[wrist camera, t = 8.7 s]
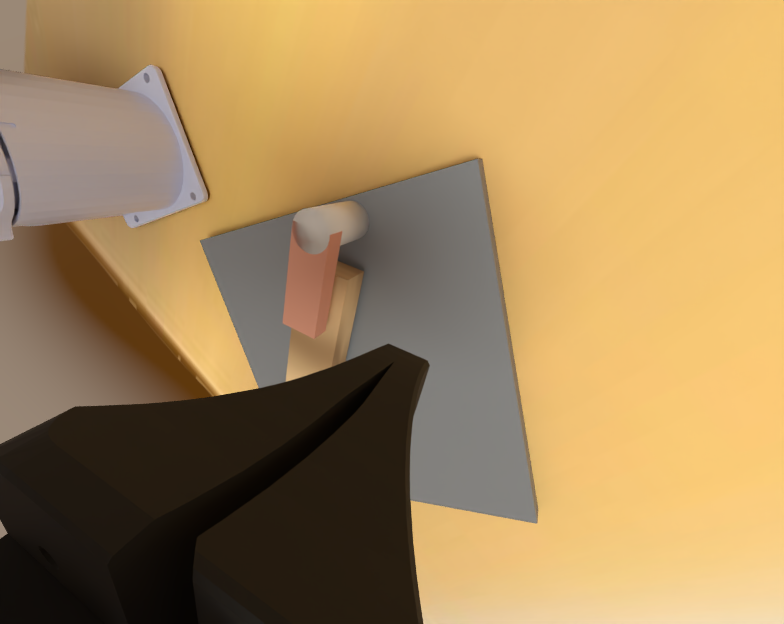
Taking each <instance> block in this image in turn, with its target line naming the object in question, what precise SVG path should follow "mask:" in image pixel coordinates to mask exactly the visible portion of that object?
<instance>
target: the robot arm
mask: <svg viewBox="0 0 784 624" xmlns="http://www.w3.org/2000/svg"><path fill="white" fill-rule="evenodd" d="M207 199H208V193H207V190H206V188H205V185H204V182H203V180H202V177H201V174H200V172H199V169H198V167H197V164H196V161H195V159H194V156H193V153H192V151H191V148H190V145H189V143H188V140H187V138H186V135H185V132H184V130H183V127H182V124H181V122H180V119H179V117H178V114H177V111H176V109H175V106H174V103H173V101H172V98H171V95H170V93H169V90H168V88H167V85H166V82H165V80H164V77H163V74H162V72H161V70H160V69H159V68H158V67H157V66H154V65H148V66H147V67H145V68H144V69H143V70H141V71H140V72H139V73H138V74H136V75H135V76H134V77H132V78H131V79H130V80H128V81H127V82H126V83H124V84H123V85H122V86H120V87H119V88H118V89H117V88H111V87H105V86H99V85H93V84H87V83H81V82H75V81H69V80H63V79H57V78H51V77H45V76H39V75H33V74H27V73H21V72H14V71H9V70H3V69H0V241H5V240H12V239H13V238H14V236H13V232H12V227H14V226H39V225H48V224H56V223H64V222H73V221H81V220H89V219H98V218H106V217H115V216H123V217H124V219H125V221H126V223H127V225H128V226H129V227H131V228H136V227H139V226H142V225H145V224H147V223H150V222H153V221H155V220H158V219H161V218H163V217H166V216H169V215H171V214H174V213H177V212H179V211H182V210H185V209H187V208H190V207H193V206H195V205H198V204H201V203H203V202H206V201H207ZM429 367H430V365H429V363H428V360H425V359H423V358H421V357H419V356H416V355H414V354H412V353H409V352H407V351H405V350H402V349H400V348H398V347H396V346H393V345H391V344H389V343H388V344H386V345H383V346H381V347H378V348H376V349H374V350H371V351H369V352H367V353H364V354H362V355H360V356H357V357H355V358H352V359H350V360H347V361H345V362H342V363H340V364H337V365H335V366H332V367H330V368H327V369H324V370H321V371H318V372H315V373H312V374H309V375H306V376H303V377H300V378H297V379H294V380H290V381H287V382H283V383H279V384H275V385H271V386H267V387H263V388H258V389H253V390H248V391H242V392H237V393H231V394H225V395H219V396H214V397H207V398H199V399H191V400H183V401H174V402H173V401H172V402H162V403H149V404H132V405H109V406H83V407H81V406H79V407H74V408H72V409H69V410H68V411H66V412H64V413H62V414H60V415H58V416H56V417H54V418H52V419H50V420H48V421H46V422H44V423H42V424H40V425H38V426H36V427H34V428H32V429H30V430H28V431H26V432H24V433H22V434H20V435H18V436H16V437H14V438H12V439H10V440H8V441H6V442H4V443H2V444H0V520H1V522H2V524H3V526H4V527H5V529H6V531H7V533H8V534H7V535H5V536H4V537H2V538H1V539H0V624H423V618H422V612H421V605H420V597H419V590H418V582H417V575H416V565H415V556H414V546H413V534H412V518H411V502H410V449H411V435H412V424H413V416H414V414H415V411H416V408H417V405H418V401H419V398H420V395H421V392H422V389H423V386H424V383H425V379H426V376H427V373H428V370H429Z"/></svg>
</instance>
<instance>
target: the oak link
mask: <svg viewBox="0 0 784 624" xmlns="http://www.w3.org/2000/svg"><path fill="white" fill-rule="evenodd" d="M363 274H364V271H361V270H359V269H357V268H354V267H352V266H349V265H347V264H344V263H342V262H340V261H337V266H336V272H335V278H334V284H333V290H332V296H331V302H330V307H329V313H328V319H327V325H326V331H325V332H323V333H322V334H321V335H319V336H318V337H316V338H315V339H313V338H311V337H309V336H307V335H305V334H303V333H301V332H299V331H297V330H295V329H293V328H291V336H290V346H289V355H288V364H287V373H286V382H287V381H290V380H294V379H297V378H300V377H303V376H306V375H309V374H312V373H315V372H318V371H321V370H324V369H327V368H330V367H332V366H335V365H337V364H340V363H342V362H345V361H346V356H347V351H348V346H349V341H350V337H351V332H352V327H353V322H354V317H355V313H356V308H357V303H358V298H359V293H360V289H361V284H362V279H363Z"/></svg>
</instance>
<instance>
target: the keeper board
mask: <svg viewBox="0 0 784 624" xmlns="http://www.w3.org/2000/svg"><path fill="white" fill-rule="evenodd" d="M200 242H201V245H202V247H203V250H204V252H205V255H206V257H207V260H208V262H209V265H210V267H211V270H212V272H213V275H214V277H215V280H216V282H217V285H218V287H219V290H220V292H221V295H222V297H223V300H224V302H225V305H226V307H227V310H228V312H229V315H230V317H231V320H232V322H233V325H234V327H235V330H236V332H237V335H238V337H239V340H240V342H241V345H242V347H243V350H244V352H245V355H246V357H247V360H248V362H249V365H250V367H251V370H252V372H253V375H254V377H255V380H256V382H257V385H258V387H259V388H263V387H267V386H271V385H275V384H279V383H283V382H286V373H287V364H288V355H289V346H290V336H291V328H293V329H295V330H297V331H299V332H301V333H303V334H305V335H307V336H309V337H311V338H313V339H315V338H316V337H318V336H319V335H321V334H322V333H323V332H325V331H326V325H327V319H328V313H329V307H330V302H331V296H332V290H333V284H334V278H335V272H336V266H337V261H340V262H342V263H344V264H347V265H349V266H352V267H354V268H357V269H359V270H361V271H364V274H363V279H362V284H361V289H360V293H359V298H358V303H357V308H356V313H355V317H354V322H353V327H352V332H351V337H350V341H349V346H348V351H347V356H346V361H347V360H350V359H352V358H355V357H357V356H360V355H362V354H364V353H367V352H369V351H371V350H374V349H376V348H378V347H381V346H383V345H386V344H388V343H389V344H391V345H393V346H396V347H398V348H400V349H402V350H405V351H407V352H409V353H412V354H414V355H416V356H419V357H421V358H423V359H425V360H428V363H429V365H430V367H429V370H428V373H427V376H426V379H425V383H424V386H423V389H422V392H421V395H420V398H419V401H418V405H417V408H416V411H415V414H414V416H413V424H412V435H411V449H410V500H412V501H417V502H423V503H428V504H434V505H439V506H445V507H450V508H455V509H461V510H466V511H472V512H477V513H482V514H488V515H493V516H499V517H504V518H510V519H515V520H520V521H526V522H531V523H537V519H538V505H537V499H536V493H535V486H534V480H533V474H532V467H531V461H530V455H529V449H528V442H527V436H526V430H525V424H524V417H523V411H522V405H521V399H520V392H519V386H518V380H517V374H516V367H515V361H514V355H513V349H512V342H511V336H510V330H509V324H508V317H507V311H506V305H505V299H504V292H503V286H502V280H501V274H500V267H499V261H498V255H497V249H496V242H495V236H494V230H493V224H492V217H491V211H490V205H489V199H488V192H487V186H486V180H485V174H484V167H483V161H482V159H475V160H472V161H468V162H465V163H462V164H458V165H455V166H451V167H448V168H445V169H441V170H438V171H434V172H431V173H428V174H424V175H421V176H418V177H414V178H411V179H407V180H404V181H401V182H397V183H394V184H390V185H387V186H384V187H380V188H377V189H373V190H370V191H367V192H363V193H360V194H356V195H353V196H350V197H346V198H343V199H339V200H336V201H333V202H329V203H326V204H323V205H319V206H316V207H311V208H305V209H302V210H300V211H298V212H295V213H292V214H289V215H285V216H282V217H278V218H275V219H272V220H268V221H265V222H261V223H258V224H255V225H251V226H248V227H244V228H241V229H238V230H234V231H231V232H227V233H224V234H221V235H217V236H214V237H211V238H207V239H204V240H200Z"/></svg>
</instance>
